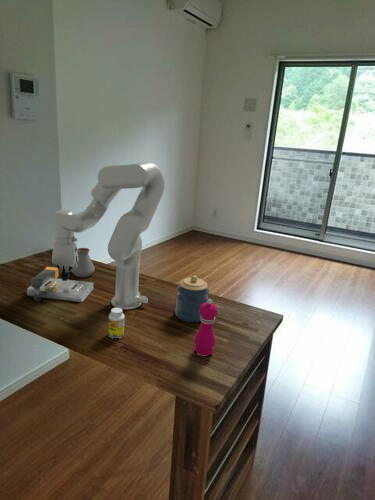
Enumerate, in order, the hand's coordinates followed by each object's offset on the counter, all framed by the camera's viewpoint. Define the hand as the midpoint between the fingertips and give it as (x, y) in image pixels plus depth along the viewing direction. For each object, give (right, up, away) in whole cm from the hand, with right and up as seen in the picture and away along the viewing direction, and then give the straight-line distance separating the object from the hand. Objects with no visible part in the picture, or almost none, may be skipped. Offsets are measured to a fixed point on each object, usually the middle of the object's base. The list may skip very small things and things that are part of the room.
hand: (65, 279), depth 163 cm
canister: (+55, -14, -10) cm, 57 cm away
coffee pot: (-3, +2, +24) cm, 24 cm away
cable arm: (-8, -1, -4) cm, 9 cm away
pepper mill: (+59, -22, -34) cm, 72 cm away
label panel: (-2, -5, +1) cm, 6 cm away
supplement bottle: (+28, -18, -29) cm, 44 cm away
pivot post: (-9, -8, -8) cm, 14 cm away
